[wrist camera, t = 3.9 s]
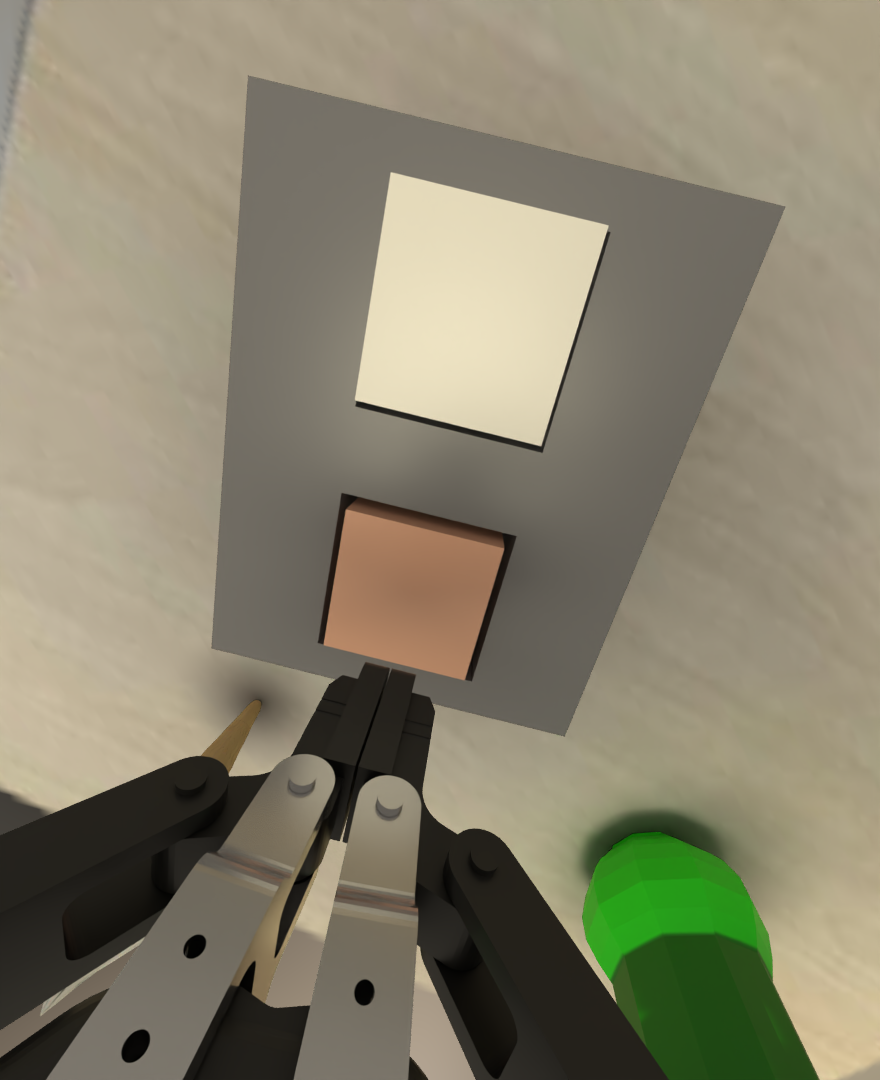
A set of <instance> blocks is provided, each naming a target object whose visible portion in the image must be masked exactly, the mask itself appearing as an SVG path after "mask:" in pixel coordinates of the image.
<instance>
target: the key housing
mask: <svg viewBox="0 0 880 1080" xmlns="http://www.w3.org/2000/svg"><path fill="white" fill-rule="evenodd" d="M391 172H392V173H397V174H401V175H405V176H409V177H413V178H417V179H421V180H425V181H429V182H433V183H437V184H441V185H446V186H450V187H454V188H458V189H462V190H466V191H470V192H474V193H478V194H482V195H486V196H490V197H495V198H499V199H503V200H507V201H511V202H515V203H519V204H523V205H527V206H531V207H535V208H539V209H544V210H548V211H552V212H556V213H560V214H564V215H568V216H572V217H576V218H580V219H584V220H589V221H593V222H597V223H601V224H605V225H609V226H608V230H607V233H606V236H605V239H604V243H603V246H602V249H601V253H600V256H599V259H598V262H597V266H596V269H595V272H594V275H593V279H592V282H591V285H590V288H589V292H588V295H587V298H586V301H585V305H584V308H583V311H582V315H581V318H580V321H579V324H578V328H577V331H576V334H575V337H574V341H573V344H572V347H571V350H570V354H569V357H568V360H567V364H566V367H565V370H564V373H563V377H562V380H561V383H560V386H559V390H558V393H557V396H556V399H555V403H554V406H553V409H552V413H551V416H550V419H549V422H548V426H547V429H546V432H545V435H544V439H543V442H542V445H541V446H538V445H534V444H530V443H526V442H522V441H518V440H514V439H510V438H506V437H502V436H498V435H494V434H490V433H486V432H482V431H478V430H473V429H469V428H465V427H461V426H457V425H453V424H449V423H445V422H441V421H437V420H433V419H429V418H425V417H421V416H417V415H413V414H409V413H405V412H401V411H397V410H393V409H388V408H384V407H380V406H376V405H372V404H368V403H364V402H360V401H356V400H355V395H356V389H357V383H358V376H359V370H360V364H361V357H362V351H363V345H364V338H365V332H366V326H367V319H368V313H369V307H370V300H371V294H372V288H373V282H374V275H375V269H376V263H377V256H378V250H379V244H380V237H381V231H382V225H383V218H384V212H385V206H386V199H387V193H388V187H389V180H390V174H391ZM784 209H785V206H781V205H776V204H772V203H768V202H764V201H760V200H756V199H752V198H748V197H744V196H740V195H735V194H731V193H727V192H723V191H719V190H715V189H711V188H707V187H703V186H699V185H694V184H690V183H686V182H682V181H678V180H674V179H670V178H666V177H662V176H658V175H654V174H649V173H645V172H641V171H637V170H633V169H629V168H625V167H621V166H617V165H613V164H608V163H604V162H600V161H596V160H592V159H588V158H584V157H580V156H576V155H572V154H568V153H563V152H559V151H555V150H551V149H547V148H543V147H539V146H535V145H531V144H527V143H522V142H518V141H514V140H510V139H506V138H502V137H498V136H494V135H490V134H486V133H482V132H477V131H473V130H469V129H465V128H461V127H457V126H453V125H449V124H445V123H441V122H436V121H432V120H428V119H424V118H420V117H416V116H412V115H408V114H404V113H400V112H396V111H391V110H387V109H383V108H379V107H375V106H371V105H367V104H363V103H359V102H355V101H350V100H346V99H342V98H338V97H334V96H330V95H326V94H322V93H318V92H314V91H310V90H305V89H301V88H297V87H293V86H289V85H285V84H281V83H277V82H273V81H269V80H264V79H260V78H256V77H252V76H248V85H247V101H246V117H245V132H244V148H243V164H242V179H241V195H240V211H239V226H238V242H237V258H236V273H235V289H234V305H233V320H232V336H231V352H230V367H229V383H228V399H227V414H226V430H225V445H224V461H223V477H222V492H221V508H220V524H219V539H218V555H217V571H216V586H215V602H214V618H213V633H212V649H216V650H220V651H225V652H229V653H233V654H237V655H241V656H245V657H249V658H253V659H257V660H261V661H265V662H269V663H273V664H277V665H281V666H285V667H289V668H293V669H297V670H301V671H305V672H309V673H313V674H317V675H321V676H325V677H329V678H333V679H337V678H339V677H340V676H342V675H345V676H349V677H353V678H356V679H358V677H359V675H360V672H361V670H362V668H363V666H364V664H365V662H369V663H373V664H377V665H381V666H385V667H389V668H390V672H391V670H392V668H393V669H397V670H401V671H405V672H409V673H413V674H416V678H415V682H414V686H413V690H412V693H416V694H420V695H424V696H427V697H430V699H431V702H432V703H433V704H437V705H441V706H445V707H449V708H453V709H457V710H461V711H465V712H469V713H473V714H477V715H481V716H485V717H489V718H493V719H497V720H501V721H505V722H509V723H513V724H517V725H521V726H525V727H529V728H533V729H537V730H541V731H545V732H549V733H553V734H557V735H561V736H565V734H566V732H567V730H568V727H569V725H570V722H571V720H572V718H573V715H574V713H575V710H576V708H577V706H578V703H579V701H580V698H581V696H582V694H583V691H584V689H585V686H586V684H587V682H588V679H589V677H590V674H591V672H592V670H593V667H594V665H595V662H596V660H597V658H598V655H599V653H600V650H601V648H602V646H603V643H604V641H605V638H606V636H607V634H608V631H609V629H610V626H611V624H612V622H613V619H614V617H615V614H616V612H617V610H618V607H619V605H620V602H621V600H622V598H623V595H624V593H625V590H626V588H627V586H628V583H629V581H630V578H631V576H632V574H633V571H634V569H635V566H636V564H637V562H638V559H639V557H640V554H641V552H642V550H643V547H644V545H645V542H646V540H647V538H648V535H649V533H650V530H651V528H652V526H653V523H654V521H655V518H656V516H657V514H658V511H659V509H660V506H661V504H662V502H663V499H664V497H665V494H666V492H667V490H668V487H669V485H670V482H671V480H672V478H673V475H674V473H675V470H676V468H677V466H678V463H679V461H680V458H681V456H682V454H683V451H684V449H685V446H686V444H687V442H688V439H689V437H690V434H691V432H692V430H693V427H694V425H695V422H696V420H697V418H698V415H699V413H700V410H701V408H702V406H703V403H704V401H705V398H706V396H707V394H708V391H709V389H710V386H711V384H712V382H713V379H714V377H715V374H716V372H717V370H718V367H719V365H720V362H721V360H722V358H723V355H724V353H725V350H726V348H727V346H728V343H729V341H730V338H731V336H732V334H733V331H734V329H735V326H736V324H737V322H738V319H739V317H740V314H741V312H742V310H743V307H744V305H745V302H746V300H747V298H748V295H749V293H750V290H751V288H752V286H753V283H754V281H755V278H756V276H757V274H758V271H759V269H760V266H761V264H762V262H763V259H764V257H765V254H766V252H767V250H768V247H769V245H770V242H771V240H772V238H773V235H774V233H775V230H776V228H777V226H778V223H779V221H780V218H781V216H782V214H783V211H784ZM358 497H361V498H365V499H369V500H373V501H377V502H381V503H385V504H389V505H393V506H397V507H402V508H406V509H410V510H414V511H418V512H422V513H426V514H430V515H434V516H438V517H442V518H446V519H450V520H454V521H458V522H462V523H466V524H470V525H474V526H478V527H482V528H486V529H490V530H494V531H498V532H502V534H503V542H504V552H503V555H502V558H501V562H500V565H499V568H498V571H497V575H496V578H495V581H494V585H493V588H492V591H491V595H490V598H489V601H488V605H487V608H486V611H485V615H484V618H483V621H482V624H481V628H480V631H479V634H478V638H477V641H476V644H475V648H474V651H473V654H472V658H471V661H470V664H469V668H468V671H467V674H466V678H465V680H461V679H457V678H453V677H449V676H445V675H441V674H437V673H433V672H429V671H425V670H421V669H417V668H413V667H409V666H405V665H401V664H397V663H393V662H389V661H385V660H381V659H377V658H373V657H369V656H365V655H361V654H357V653H353V652H349V651H345V650H341V649H337V648H333V647H329V646H325V645H324V639H325V633H326V627H327V621H328V615H329V609H330V603H331V597H332V591H333V585H334V579H335V572H336V566H337V560H338V554H339V548H340V542H341V536H342V530H343V524H344V518H345V512H346V509H347V508H348V507H349V506H350V505H351V504H352V503H353V502H354V501H355V500H356V499H357V498H358ZM390 672H389V675H390ZM388 678H389V677H388Z"/></svg>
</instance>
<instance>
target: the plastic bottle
mask: <svg viewBox="0 0 880 1080" xmlns="http://www.w3.org/2000/svg"><path fill="white" fill-rule="evenodd" d="M582 919H583V925H584V930H585V936H586V940H587V942H588V944H589V946H590V948H591V950H592V952H593V953H594V955H595V957H596V959H597V961H598V963H599V964H600V966H601V968H602V969H603V971H604V972H605V974H606V975H607V977H608V978H609V980H610V981H611V983H612V984H613V988H614V992H615V997H616V1002H617V1005H618V1007H619V1008H620V1010H621V1011H622V1012H623V1014H624V1015H625V1017H626V1018H627V1020H628V1021H629V1023H630V1024H631V1025H632V1027H633V1028H634V1030H635V1031H636V1033H637V1034H638V1036H639V1037H640V1038H641V1040H642V1041H643V1043H644V1044H645V1046H646V1047H647V1049H648V1050H649V1051H650V1053H651V1054H652V1056H653V1057H654V1059H655V1060H656V1062H657V1063H658V1064H659V1066H660V1067H661V1069H662V1070H663V1072H664V1073H665V1075H666V1076H667V1077H668V1079H669V1080H819V1078H818V1075H817V1073H816V1071H815V1069H814V1067H813V1065H812V1063H811V1061H810V1059H809V1057H808V1055H807V1053H806V1050H805V1048H804V1046H803V1044H802V1042H801V1040H800V1038H799V1036H798V1034H797V1032H796V1030H795V1028H794V1025H793V1023H792V1021H791V1019H790V1017H789V1015H788V1013H787V1011H786V1009H785V1007H784V1005H783V1003H782V1001H781V998H780V996H779V994H778V992H777V990H776V988H775V986H774V984H773V966H772V953H771V947H770V941H769V934H768V932H767V930H766V928H765V926H764V924H763V922H762V920H761V918H760V916H759V914H758V912H757V910H756V908H755V906H754V904H753V902H752V900H751V898H750V896H749V894H748V892H747V890H746V888H745V887H744V885H743V883H742V881H741V879H740V877H739V876H738V875H737V874H736V873H735V872H734V871H733V870H732V869H731V868H730V867H729V866H728V865H727V864H726V863H725V862H724V861H723V860H721V859H720V858H718V857H716V856H714V855H712V854H710V853H708V852H706V851H704V850H701V849H699V848H697V847H695V846H692V845H690V844H688V843H685V842H683V841H681V840H678V839H676V838H674V837H671V836H668V835H666V834H664V833H661V832H648V833H633V834H631V835H630V836H628V837H626V838H625V839H623V840H621V841H620V842H618V843H616V844H615V845H613V847H612V850H610V851H609V852H608V853H607V854H606V855H605V856H604V857H602V858H601V859H600V861H599V862H598V864H597V865H596V867H595V870H594V873H593V876H592V879H591V882H590V885H589V888H588V891H587V894H586V897H585V903H584V909H583V915H582Z"/></svg>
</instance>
